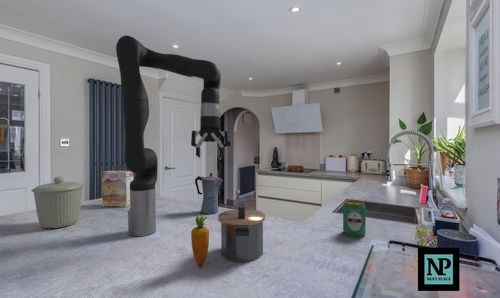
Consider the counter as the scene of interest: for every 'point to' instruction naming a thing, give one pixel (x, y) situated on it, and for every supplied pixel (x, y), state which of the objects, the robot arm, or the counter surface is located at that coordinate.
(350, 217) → the beverage can
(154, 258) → the counter surface
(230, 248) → the cooking pot
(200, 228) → the carrot
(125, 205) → the coffeecake box
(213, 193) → the moka pot
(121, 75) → the robot arm
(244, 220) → the lid
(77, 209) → the canister
